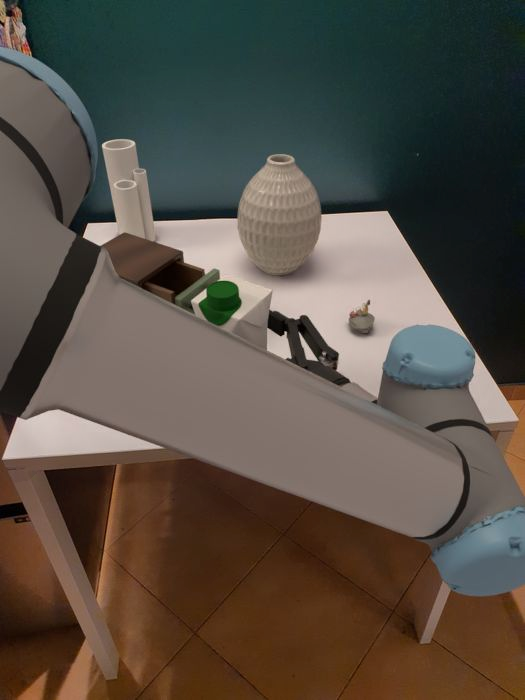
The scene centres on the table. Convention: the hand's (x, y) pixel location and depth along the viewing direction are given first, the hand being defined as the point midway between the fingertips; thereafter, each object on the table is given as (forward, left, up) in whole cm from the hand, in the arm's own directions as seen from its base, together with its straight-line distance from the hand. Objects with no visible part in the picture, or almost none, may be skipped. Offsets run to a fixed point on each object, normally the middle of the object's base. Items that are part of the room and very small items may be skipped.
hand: (218, 325), depth 73 cm
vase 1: (-6, +51, -11) cm, 53 cm away
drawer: (-2, +17, -10) cm, 20 cm away
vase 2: (+20, +30, -11) cm, 38 cm away
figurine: (+27, +6, -11) cm, 29 cm away
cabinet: (-9, +25, -11) cm, 29 cm away
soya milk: (+2, -3, -11) cm, 12 cm away
